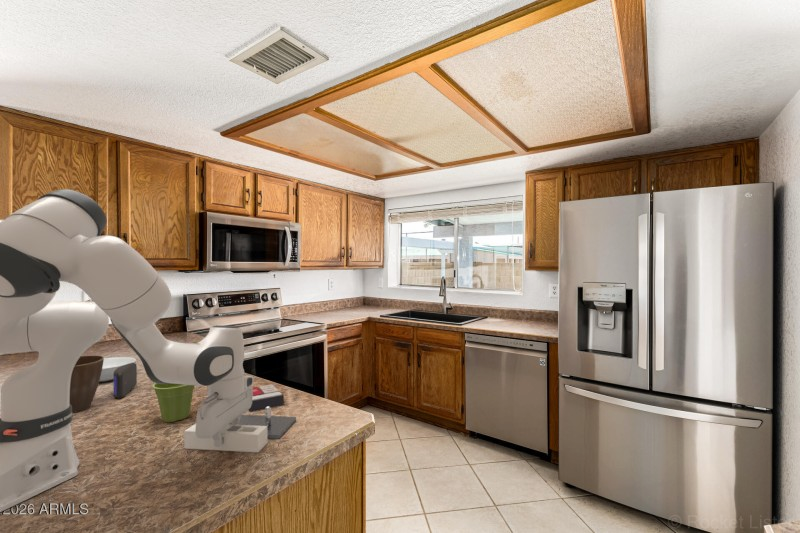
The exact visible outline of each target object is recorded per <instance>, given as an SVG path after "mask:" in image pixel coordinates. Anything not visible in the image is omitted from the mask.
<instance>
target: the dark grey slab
mask: <svg viewBox="0 0 800 533" xmlns="http://www.w3.org/2000/svg"><path fill="white" fill-rule="evenodd" d="M137 366H138V365H137V363H129V364H126V365H123V366H121V367H119V368H117V369H116V370H115V371H114V373H113V376H114V380H113V383H112V386H113V396H114V398H116V399H122V398H123V397H125V396H126V395H127V394H128V393H129V392H130V391H131V390H132V389H134V388H135V387H136V385H137V382H138V381H137V380H138V378H137V377H138V376H137V373H138V372H137V371H138V368H137Z"/></svg>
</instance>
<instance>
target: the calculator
mask: <svg viewBox="0 0 800 533" xmlns="http://www.w3.org/2000/svg"><path fill="white" fill-rule="evenodd" d="M252 388H253V399H252V405H251V408H250V409H248V410H247V411H248V412H249V413H252V412H257V411H261V410H265V408H266V407H267V406H270V407H271V409H273V408H276V407H282V406H284V405H285V404H284V403H285V400H284V399H285V398H284V397H285V396H284V394H283V393H282V392H281V391H280V390H279V389H278V388H277V387H276V386H275V385H274V384H268V385H267V384H266V385H261V386H258V387H257V386H255V387H252Z"/></svg>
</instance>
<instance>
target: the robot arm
mask: <svg viewBox="0 0 800 533" xmlns="http://www.w3.org/2000/svg"><path fill="white" fill-rule="evenodd" d="M107 221H108V220H107V215H106V213H105V212H104V210H103V208H102V207H101V206H100V205H99V204H98V202H96V201H95V200H94V199H92V198H91V197H90V196H88V195H87V194H84V193H81V192H80V191H77V190H73V189H67V188H64V189H63V188H62V189H58V190H54V191H49V192H48V193H45V194H43V195H41V196H40V197H39V198H37V199H36V200H35V201H33V202H31V203H28V204H27V205H24V206H22V207H21V208H19V209H17V210H16V211H14V212H13V213H11V214H9V215H7V217H5V219H0V355H6V354H7V355H9V354H10V355H11V354H19V353H30V352H31V353H33V352H38V358H37V360H36V361H35V362H34V363H32V364H30V365H28V366H26V367H25V366H24V367H23V368H21V369H20V370H17V371H15V372H14V373H12V374H10V375H9V376H8V377H6V379H5V380H4V381H3V382H2V385H1V387H0V513H1V512H3V511H5V510H8V509H10V508H11V507H15V506H16V505H18V504H21V503H22V502H24V501H26V500H29V499H30V498H33V497H35V496H37V495H39V494H41V493H43V492H45V491H48V490H50V489H51V488H53V487H55V486H57V485H60V484H62V483H63V482H64V483H65V482H66V481H68V480H70V479H72V478H74V477H76V476H78V466H79V465H80V460H79V458H78V455H77V452H76V448H75V445H74V441H73V434H72V428H71V426H72V425H71V422H72V421H73V414H74V413H72V405H71V404H70V382H71V375H72V371H73V368H74V366H75V364H76V362H77V361H78V359H79V358H80V356H83V354H84V353H85V352H87V350H88V349H89V348H91V347H92V346H93V345H95V344H97V342H99V341H100V340H101V339H102V338H103V337H104V336H105V335H106V333H107V331H108V328H109V325H110V324H109V323H110V322H111V325H112V326H113V328H114V329H115V330H116V332H117V333H118V335H120V337H121V338H122V339H123V340H124V341H125V343H126V344H127V345H128V346H129V348H130V349H132V351H134V354H136V355H137V357H138V358H139V359H140V361H141V363H142V365H143V368H144V371H145V374H146V376H147V377H148V378H149V380H151V381H152V382H153V383H154V384H155V383H158V384H181V385H194V387H195V386H197V387H206V391H207V392H206V393H207V395H206V396H207V397H204V399H203V400H202V402H201V404H200V405H199V407H198V408H197V411H196V412H197V413H196V419H195V424H196V428H195V434H196V436H197V437H198V438H211V437H212V438H213V439H214V446H215V447H220V446H221V445H223V444H224V437H221V434H220V433H222V429H223V428H224V427H226V426H227V425H228V424H230V423H231V424H234V425H239V422H240V419H241V415H244V414H245V412H247V411H249V410H248V409H250V408H251V405H252V399H253V388H254V387H253V384H254V381H255V380H254V376H253V375H252V376H250V375H245V369H244V366H243V365H244V364H243V363H244V360H245V341H244V335H243V334H244V333H243V331H242V329H241V328H240V327H238V326H236V325H213V326H211V327H209V330H208V333H207V334H206V336H205V337H204V338H203V339H201V340H200V341H197V343H191V342H190V343H188V342H187V343H186V342H177V341H175V340H174V341H172V340H170V339H167V338H165V336H164V335H163V334H162V333H161V331H160V329H159V328H158V327H157V325H156V324H155V323H157V322H158V321H159V320H161V318H162V317H163V316H164V315H165V314H166V313H167V311H168V309H169V307H170V305H171V301H172V293H171V290H170V289H169V287H168V284H167V283H166V282H165V280H164V279H163V278H162V276H161V275H160V274H159V273H158V271H156V269H155V268H154V267H153V266H152V265H151V263H150V262H149V261H148V260H147V259H146V258H145V257H144V256H143V255H141V253H139V251H137V250H136V249H135V248H134V247H132V246H131V245H130V244H129V243H127V242H126V241H125V240H124V239H123V238H120V237H117V236H114V235H108V234H107V235H101V234H102V233H103V232H104V231H105V229H106V227H107ZM61 282H63V283H64V282H66V283H69V284H72V285H75V286H76V287H78V288H79V289H80V290H81V291H83V292H84V293H85V294H86V295H87V296H88V297H89V298H90V300H91V301H92V302H90V301H81V300H80V301H79V300H62V301H60V300H59V301H57V300H56V301H52V300H53V299H54V298H55V297H56V294H57V292H58V291H59V290H60V288H61ZM109 319H110V320H109Z"/></svg>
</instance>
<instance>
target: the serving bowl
mask: <svg viewBox="0 0 800 533" xmlns="http://www.w3.org/2000/svg"><path fill="white" fill-rule="evenodd" d="M129 363H135V364H137V359H136V358H134V357H130V356H129V357H128V356H123V357H122V356H120V357H119V356H117V357H115V356H114V357H113V356H112V357H104V361H103V367H102V372H101V376H100V380H99V383H105V382H110V381H114V376H113V373H114V371H115V370H116V369H117V368H119V367H121V366H123V365H126V364H129Z"/></svg>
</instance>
